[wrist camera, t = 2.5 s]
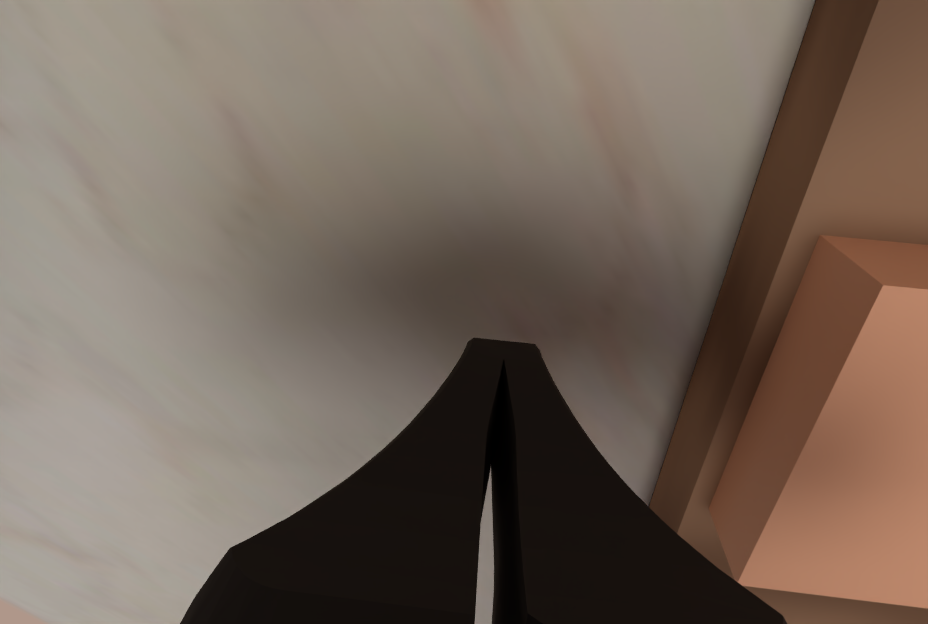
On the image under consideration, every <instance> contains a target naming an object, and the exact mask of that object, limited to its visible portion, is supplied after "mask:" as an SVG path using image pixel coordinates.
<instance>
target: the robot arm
mask: <svg viewBox="0 0 928 624" xmlns="http://www.w3.org/2000/svg"><path fill="white" fill-rule="evenodd" d="M490 468H491V476H492V510H493V542H494V597H493V614H492V624H787V622H786V620H785V618H784V617H783V615H782V614H780V613H779V612H777V611H776V610H775V609H773V608H772V607H771V606H769V605H768V604H767V603H765V602H764V601H762V600H761V599H760V598H758V597H757V596H756V595H754V594H753V593H752V592H750V591H749V590H747V589H746V588H745V587H743V586H742V585H741V584H739V583H738V582H736V581H735V580H734V579H732V578H731V577H730V576H728V575H727V574H726V573H724V572H723V571H721V570H720V569H719V568H718V567H716V566H715V565H714V564H713V563H711V562H710V561H709V560H708V559H707V558H705V557H704V556H703V555H702V554H701V553H699V552H698V551H697V550H696V549H695V548H693V547H692V546H691V545H690V544H689V543H687V542H686V541H685V540H684V539H683V538H681V537H680V536H679V535H678V534H677V533H676V532H675V531H674V530H672V529H671V528H670V527H669V526H668V525H667V524H666V523H665V522H664V521H663V520H662V519H661V518H660V517H659V516H658V515H656V514H655V513H654V512H653V511H652V510H651V509H650V508H649V507H648V506H647V505H646V504H645V503H644V502H643V501H642V500H641V499H640V498H639V497H638V496H637V495H636V494H635V493H634V492H633V491H632V490H631V489H630V488H629V487H628V485H627V484H626V483H625V482H624V481H623V480H622V479H621V478H620V476H619V475H618V474H617V473H616V472H615V471H614V469H613V468H612V467H611V466H610V465H609V464H608V462H607V461H606V460H605V459H604V457H603V456H602V455H601V453H600V452H599V451H598V449H597V448H596V447H595V445H594V444H593V443H592V441H591V440H590V439H589V437H588V436H587V434H586V433H585V431H584V430H583V429H582V427H581V426H580V424H579V423H578V421H577V420H576V418H575V417H574V415H573V414H572V412H571V410H570V409H569V407H568V405H567V404H566V402H565V400H564V399H563V397H562V395H561V394H560V392H559V390H558V388H557V387H556V385H555V383H554V381H553V379H552V377H551V375H550V373H549V371H548V369H547V367H546V365H545V363H544V360H543V358H542V356H541V353H540V350H539V349H538V348H537V346H536V345H535V344H529V343H519V342H510V341H500V340H490V339H481V338H473V339H472V340H470V341H469V342H468V343H467V346H466V348H465V350H464V352H463V354H462V356H461V358H460V359H459V361H458V363H457V364H456V366H455V367H454V369H453V370H452V372H451V373H450V375H449V376H448V378H447V379H446V380H445V382H444V383H443V384H442V386H441V387H440V388H439V390H438V391H437V392H436V394H435V395H434V396H433V397H432V399H431V400H430V401H429V402H428V403H427V404H426V406H425V407H424V408H423V409H422V410H421V411H420V412H419V414H418V415H417V416H416V417H415V418H414V419H413V420H412V421H411V423H410V424H409V425H408V426H407V427H406V428H405V429H404V430H403V431H402V432H401V433H400V434H399V435H398V436H397V437H396V438H395V439H393V440H392V441H391V442H390V443H389V444H388V445H387V446H386V447H385V448H384V449H383V450H382V451H380V452H379V453H378V454H377V455H376V456H374V457H373V458H372V459H371V460H370V461H368V462H367V463H366V464H365V465H363V466H362V467H361V468H360V469H359V470H357V471H356V472H355V473H354V474H352V475H351V476H350V477H348V478H347V479H346V480H344V481H343V482H342V483H340V484H339V485H337V486H336V487H334V488H333V489H331V490H330V491H328V492H327V493H325V494H324V495H322V496H321V497H319V498H318V499H316V500H315V501H313V502H312V503H310V504H309V505H307V506H306V507H304V508H303V509H301V510H300V511H298V512H296V513H295V514H293V515H291V516H290V517H288V518H286V519H285V520H283V521H281V522H279V523H277V524H275V525H273V526H272V527H270V528H268V529H266V530H264V531H262V532H260V533H258V534H257V535H255V536H253V537H251V538H249V539H247V540H245V541H243V542H241V543H239V544H237V545H235V546H233V547H231V548H230V549H229V550H228V551H227V553H226V554H225V555H224V557H223V558H222V560H221V561H220V562H219V564H218V565H217V567H216V568H215V569H214V571H213V572H212V574H211V575H210V576H209V578H208V579H207V581H206V582H205V584H204V585H203V586H202V588H201V589H200V591H199V592H198V594H197V595H196V597H195V598H194V600H193V601H192V603H191V605H190V607H189V608H188V610H187V612H186V614H185V616H184V617H183V619H182V621H181V623H180V624H474V622H475V606H476V588H477V571H478V554H479V537H480V522H481V517H482V511H483V506H484V501H485V495H486V490H487V484H488V479H489V473H490Z"/></svg>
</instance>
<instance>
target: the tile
mask: <svg viewBox="0 0 928 624" xmlns="http://www.w3.org/2000/svg"><path fill="white" fill-rule="evenodd" d="M709 511H710V514H711V517H712V519H713V522H714V525H715V528H716V530H717V533H718V536H719V539H720V541H721V544H722V547H723V550H724V552H725V555H726V558H727V561H728V563H729V566H730V569H731V572H732V574H733V577H734V580H735V581H736V582H738V583H739V584H741V585H742V586H749V587H757V588H765V589H773V590H781V591H789V592H797V593H806V594H814V595H822V596H830V597H838V598H846V599H854V600H863V601H871V602H879V603H887V604H895V605H903V606H911V607H919V608H928V245H923V244H912V243H902V242H891V241H880V240H869V239H859V238H848V237H837V236H826V235H820V236H819V238H818V241H817V243H816V246H815V248H814V251H813V253H812V255H811V258H810V260H809V263H808V265H807V268H806V270H805V273H804V275H803V278H802V280H801V283H800V285H799V287H798V290H797V292H796V295H795V297H794V300H793V302H792V305H791V307H790V310H789V312H788V315H787V317H786V319H785V322H784V324H783V327H782V329H781V332H780V334H779V337H778V339H777V342H776V344H775V347H774V349H773V351H772V354H771V356H770V359H769V361H768V364H767V366H766V369H765V371H764V374H763V376H762V378H761V381H760V383H759V386H758V388H757V391H756V393H755V396H754V398H753V401H752V403H751V406H750V408H749V410H748V413H747V415H746V418H745V420H744V423H743V425H742V428H741V430H740V433H739V435H738V438H737V440H736V442H735V445H734V447H733V450H732V452H731V455H730V457H729V460H728V462H727V465H726V467H725V469H724V472H723V474H722V477H721V479H720V482H719V484H718V487H717V489H716V492H715V494H714V497H713V499H712V501H711V504H710V506H709Z"/></svg>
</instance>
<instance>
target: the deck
mask: <svg viewBox="0 0 928 624" xmlns="http://www.w3.org/2000/svg"><path fill="white" fill-rule="evenodd" d="M820 235H826V236H837V237H848V238H859V239H869V240H880V241H891V242H902V243H912V244H923V245H928V0H816V2H815V5H814V8H813V11H812V14H811V17H810V20H809V23H808V26H807V29H806V32H805V35H804V38H803V41H802V44H801V47H800V50H799V53H798V57H797V60H796V63H795V66H794V69H793V72H792V75H791V78H790V81H789V84H788V87H787V90H786V93H785V96H784V99H783V102H782V105H781V108H780V111H779V114H778V117H777V120H776V123H775V126H774V129H773V132H772V135H771V138H770V141H769V144H768V148H767V151H766V154H765V157H764V160H763V163H762V166H761V169H760V172H759V175H758V178H757V181H756V184H755V187H754V190H753V193H752V196H751V199H750V202H749V205H748V208H747V211H746V214H745V217H744V220H743V223H742V226H741V229H740V232H739V235H738V238H737V242H736V245H735V248H734V251H733V254H732V257H731V260H730V263H729V266H728V269H727V272H726V275H725V278H724V281H723V284H722V287H721V290H720V293H719V296H718V299H717V302H716V305H715V308H714V311H713V314H712V317H711V320H710V323H709V326H708V329H707V333H706V336H705V339H704V342H703V345H702V348H701V351H700V354H699V357H698V360H697V363H696V366H695V369H694V372H693V375H692V378H691V381H690V384H689V387H688V390H687V393H686V396H685V399H684V402H683V405H682V408H681V411H680V414H679V417H678V420H677V424H676V427H675V430H674V433H673V436H672V439H671V442H670V445H669V448H668V451H667V454H666V457H665V460H664V463H663V466H662V469H661V472H660V475H659V478H658V481H657V484H656V487H655V490H654V493H653V496H652V499H651V502H650V505H649V508H650V509H651V510H652V511H653V512H654V513H655V514H656V515H658V516H659V517H660V518H661V519H662V520H663V521H664V522H665V523H666V524H667V525H668V526H669V527H670V528H671V529H672V530H674V531H675V532H676V533H677V534H678V535H679V536H680V537H681V538H683V539H684V540H685V541H686V542H687V543H689V544H690V545H691V546H692V547H693V548H695V549H696V550H697V551H698V552H699V553H701V554H702V555H703V556H704V557H705V558H707V559H708V560H709V561H710V562H711V563H713V564H714V565H715V566H716V567H718V568H719V569H720V570H721V571H723V572H724V573H726V574H727V575H728V576H730V577H731V578H732V579H734V577H733V574H732V572H731V569H730V566H729V563H728V561H727V558H726V555H725V552H724V550H723V547H722V544H721V541H720V539H719V536H718V533H717V530H716V528H715V525H714V522H713V519H712V517H711V514H710V511H709V506H710V504H711V501H712V499H713V497H714V494H715V492H716V489H717V487H718V484H719V482H720V479H721V477H722V474H723V472H724V469H725V467H726V465H727V462H728V460H729V457H730V455H731V452H732V450H733V447H734V445H735V442H736V440H737V438H738V435H739V433H740V430H741V428H742V425H743V423H744V420H745V418H746V415H747V413H748V410H749V408H750V406H751V403H752V401H753V398H754V396H755V393H756V391H757V388H758V386H759V383H760V381H761V378H762V376H763V374H764V371H765V369H766V366H767V364H768V361H769V359H770V356H771V354H772V351H773V349H774V347H775V344H776V342H777V339H778V337H779V334H780V332H781V329H782V327H783V324H784V322H785V319H786V317H787V315H788V312H789V310H790V307H791V305H792V302H793V300H794V297H795V295H796V292H797V290H798V287H799V285H800V283H801V280H802V278H803V275H804V273H805V270H806V268H807V265H808V263H809V260H810V258H811V255H812V253H813V251H814V248H815V246H816V243H817V241H818V238H819V236H820ZM743 587H745V588H746V589H747V590H749V591H750V592H752V593H753V594H754V595H756V596H757V597H758V598H760V599H761V600H762V601H764V602H765V603H767V604H768V605H769V606H771V607H772V608H773V609H775V610H776V611H777V612H779V613H780V614H782V615H783V617H784V618H785V620H786V622H787V624H928V608H919V607H911V606H903V605H895V604H887V603H879V602H871V601H863V600H854V599H846V598H838V597H830V596H822V595H814V594H806V593H797V592H789V591H781V590H773V589H765V588H757V587H749V586H743Z"/></svg>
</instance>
